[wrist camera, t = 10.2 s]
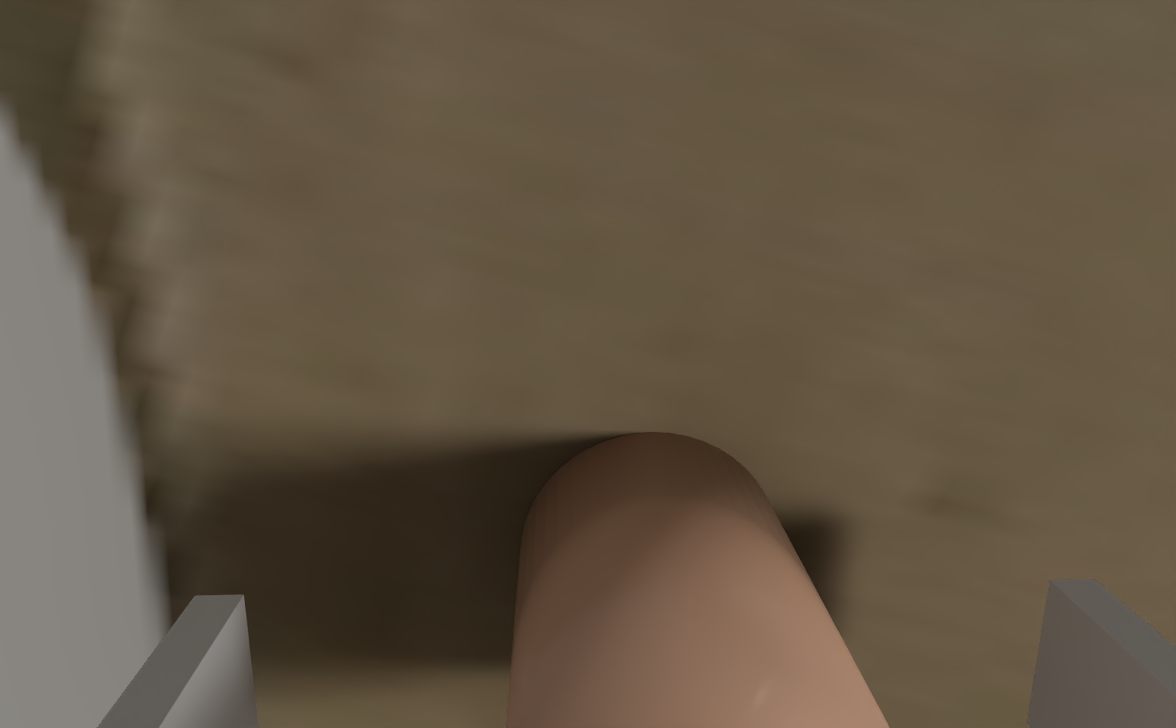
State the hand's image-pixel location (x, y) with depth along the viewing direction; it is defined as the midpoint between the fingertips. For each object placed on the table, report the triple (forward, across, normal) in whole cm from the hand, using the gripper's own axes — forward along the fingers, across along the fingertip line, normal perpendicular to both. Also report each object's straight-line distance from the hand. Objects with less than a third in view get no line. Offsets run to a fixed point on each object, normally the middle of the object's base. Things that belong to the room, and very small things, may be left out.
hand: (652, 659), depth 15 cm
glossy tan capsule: (+3, 0, 0) cm, 3 cm away
